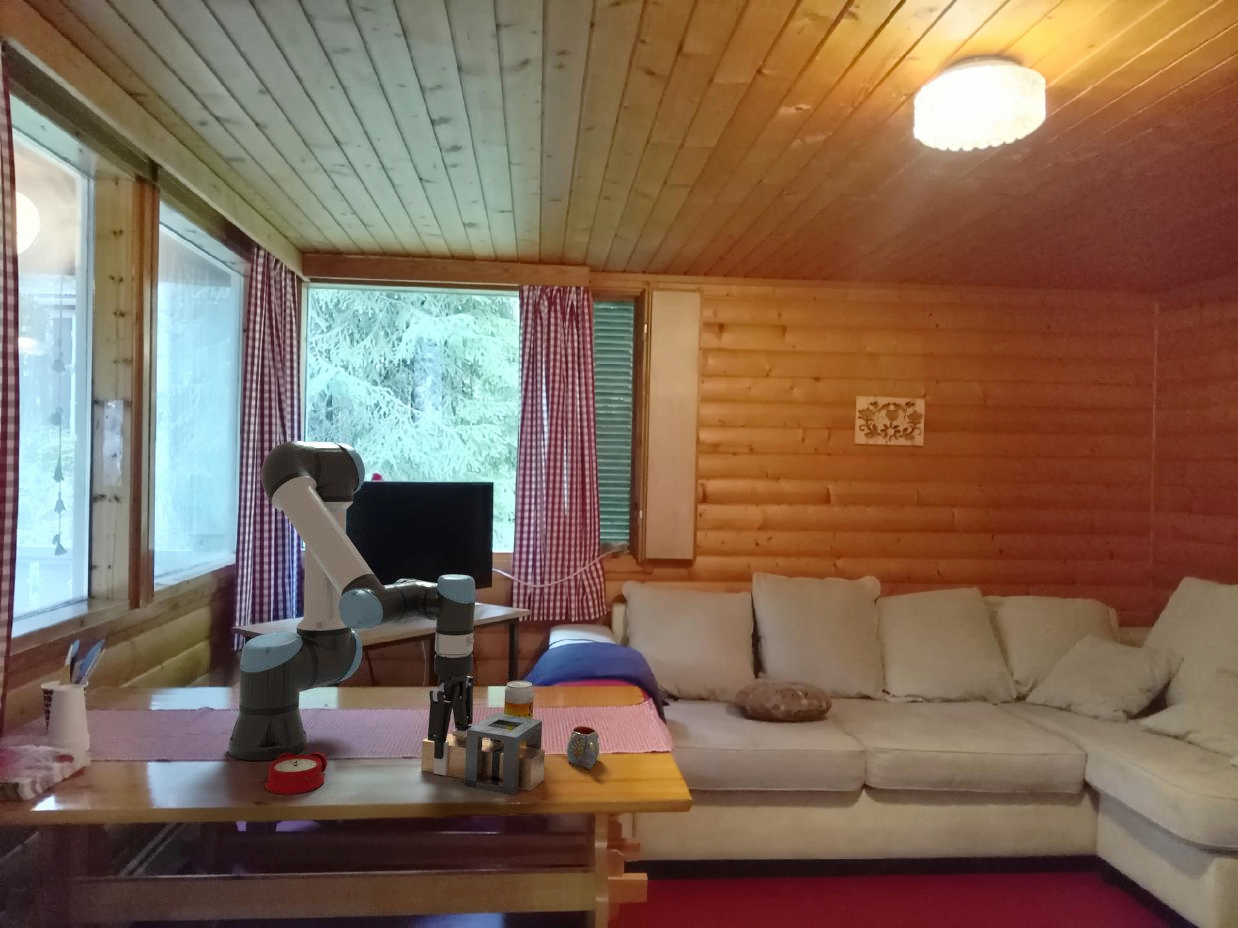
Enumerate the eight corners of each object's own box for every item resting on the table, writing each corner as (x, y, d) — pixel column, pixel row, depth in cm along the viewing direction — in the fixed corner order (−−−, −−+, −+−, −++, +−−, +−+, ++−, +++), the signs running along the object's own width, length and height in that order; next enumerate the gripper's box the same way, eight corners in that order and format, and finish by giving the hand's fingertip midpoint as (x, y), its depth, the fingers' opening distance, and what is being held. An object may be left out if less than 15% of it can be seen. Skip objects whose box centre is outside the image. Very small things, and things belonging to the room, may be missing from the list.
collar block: (464, 785, 163) (466, 729, 163) (493, 765, 174) (495, 712, 174) (513, 794, 159) (516, 737, 159) (540, 773, 170) (542, 720, 170)
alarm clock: (257, 778, 154) (277, 733, 168) (258, 809, 155) (278, 761, 169) (317, 777, 155) (332, 733, 170) (317, 807, 157) (332, 761, 171)
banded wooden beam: (420, 770, 169) (422, 740, 169) (437, 760, 175) (438, 731, 175) (530, 790, 161) (531, 758, 161) (543, 779, 167) (544, 749, 167)
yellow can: (526, 760, 178) (528, 688, 178) (498, 757, 179) (501, 686, 179) (534, 750, 184) (537, 681, 184) (507, 747, 185) (510, 678, 185)
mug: (564, 755, 182) (564, 724, 182) (595, 754, 183) (596, 723, 183) (573, 776, 170) (574, 743, 170) (606, 775, 171) (607, 742, 171)
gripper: (445, 665, 160) (440, 787, 161) (493, 645, 178) (488, 755, 178) (411, 660, 163) (406, 781, 163) (461, 641, 181) (457, 750, 181)
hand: (449, 767), depth 171 cm, fingers closed on banded wooden beam, 6 cm apart
